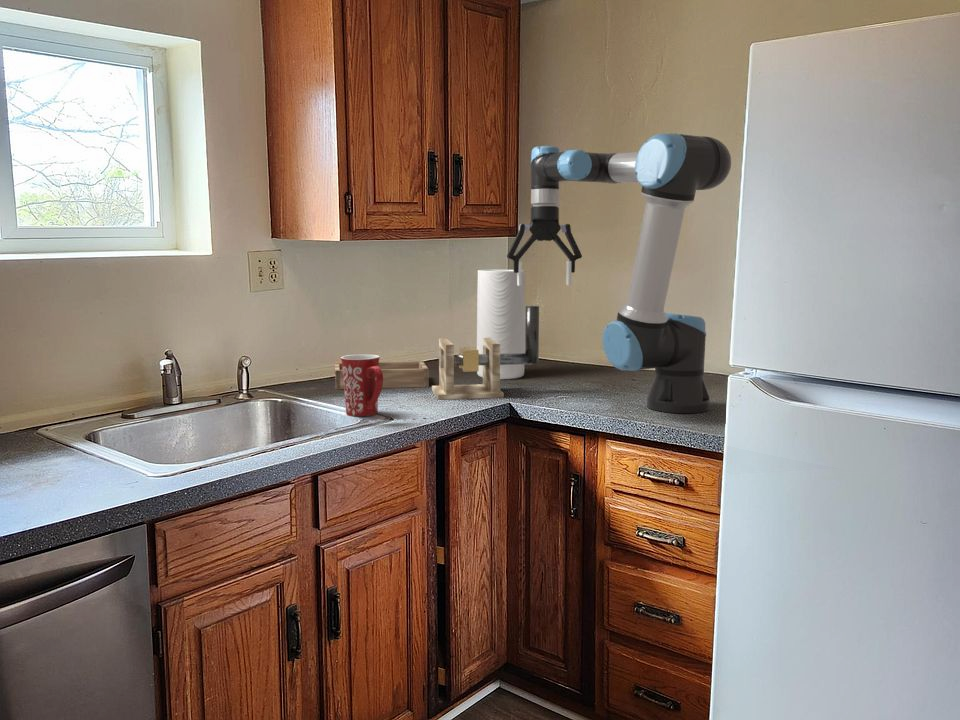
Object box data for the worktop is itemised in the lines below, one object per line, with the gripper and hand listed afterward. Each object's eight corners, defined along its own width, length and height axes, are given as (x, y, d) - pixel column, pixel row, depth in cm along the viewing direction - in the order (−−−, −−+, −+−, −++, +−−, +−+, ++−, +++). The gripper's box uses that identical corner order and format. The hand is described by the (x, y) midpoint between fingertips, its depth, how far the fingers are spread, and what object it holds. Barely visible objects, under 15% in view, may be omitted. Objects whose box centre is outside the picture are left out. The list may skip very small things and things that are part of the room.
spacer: (478, 371, 219) (478, 350, 219) (463, 371, 219) (463, 350, 218) (474, 367, 226) (474, 347, 225) (459, 367, 225) (459, 347, 225)
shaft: (536, 363, 227) (537, 305, 225) (539, 365, 224) (540, 306, 222) (441, 365, 223) (441, 306, 221) (443, 367, 219) (443, 307, 217)
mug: (334, 412, 198) (333, 356, 196) (368, 408, 204) (367, 352, 202) (362, 421, 188) (361, 362, 186) (396, 416, 194) (395, 358, 192)
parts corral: (428, 386, 234) (428, 368, 233) (335, 389, 229) (335, 371, 229) (422, 377, 249) (422, 361, 248) (335, 380, 244) (334, 363, 244)
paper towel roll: (511, 381, 242) (512, 271, 238) (468, 377, 249) (468, 270, 245) (532, 374, 255) (533, 270, 251) (490, 371, 262) (490, 269, 257)
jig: (493, 388, 232) (493, 337, 230) (503, 397, 218) (504, 343, 216) (431, 390, 229) (431, 338, 227) (438, 399, 215) (438, 345, 213)
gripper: (586, 206, 232) (585, 284, 235) (496, 206, 228) (496, 284, 231) (593, 205, 224) (592, 285, 227) (501, 204, 221) (501, 286, 224)
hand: (544, 285), depth 229 cm, fingers open, 13 cm apart
